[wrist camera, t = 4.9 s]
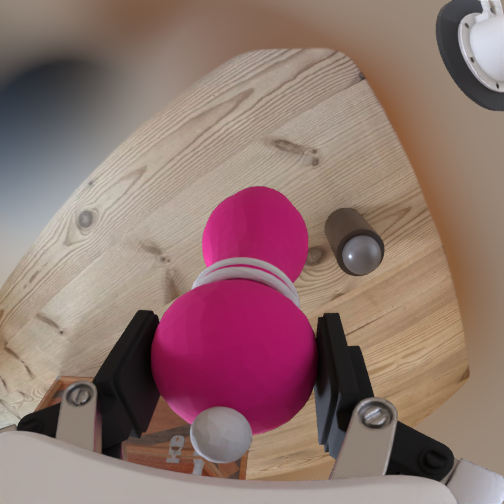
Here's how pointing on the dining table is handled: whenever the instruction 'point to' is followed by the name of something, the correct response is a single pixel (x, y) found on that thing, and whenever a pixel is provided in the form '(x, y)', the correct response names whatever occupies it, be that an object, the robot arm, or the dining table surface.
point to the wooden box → (161, 441)
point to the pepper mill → (240, 328)
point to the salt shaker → (353, 242)
